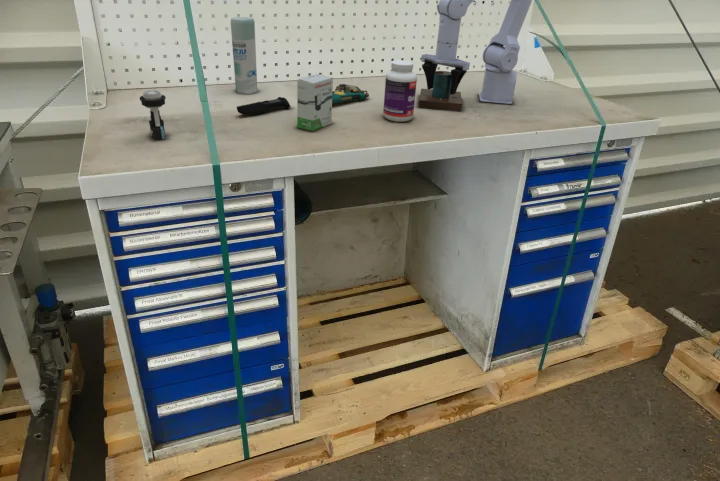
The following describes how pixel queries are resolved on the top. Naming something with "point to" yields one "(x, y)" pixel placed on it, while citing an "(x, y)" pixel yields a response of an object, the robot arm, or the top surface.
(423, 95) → the stand
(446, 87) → the jar
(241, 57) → the spray paint can
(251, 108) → the electric trimmer
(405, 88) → the pill bottle
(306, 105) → the ink box
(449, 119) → the top surface
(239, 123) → the top surface
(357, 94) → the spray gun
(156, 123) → the push button
